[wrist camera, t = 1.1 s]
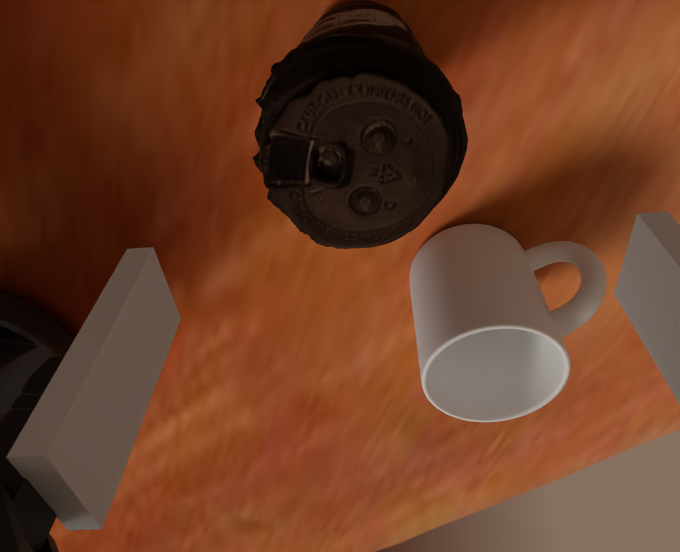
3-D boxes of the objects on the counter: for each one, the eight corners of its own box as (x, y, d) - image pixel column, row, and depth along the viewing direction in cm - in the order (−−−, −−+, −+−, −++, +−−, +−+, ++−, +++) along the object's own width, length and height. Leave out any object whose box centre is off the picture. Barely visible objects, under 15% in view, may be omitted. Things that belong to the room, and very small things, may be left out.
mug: (550, 168, 33) (612, 269, 25) (594, 257, 37) (659, 368, 29) (386, 254, 38) (394, 364, 30) (442, 325, 42) (462, 438, 34)
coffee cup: (248, 51, 29) (189, 157, 19) (362, -69, 26) (365, -17, 16) (352, 160, 33) (350, 295, 23) (464, 69, 30) (520, 182, 19)
